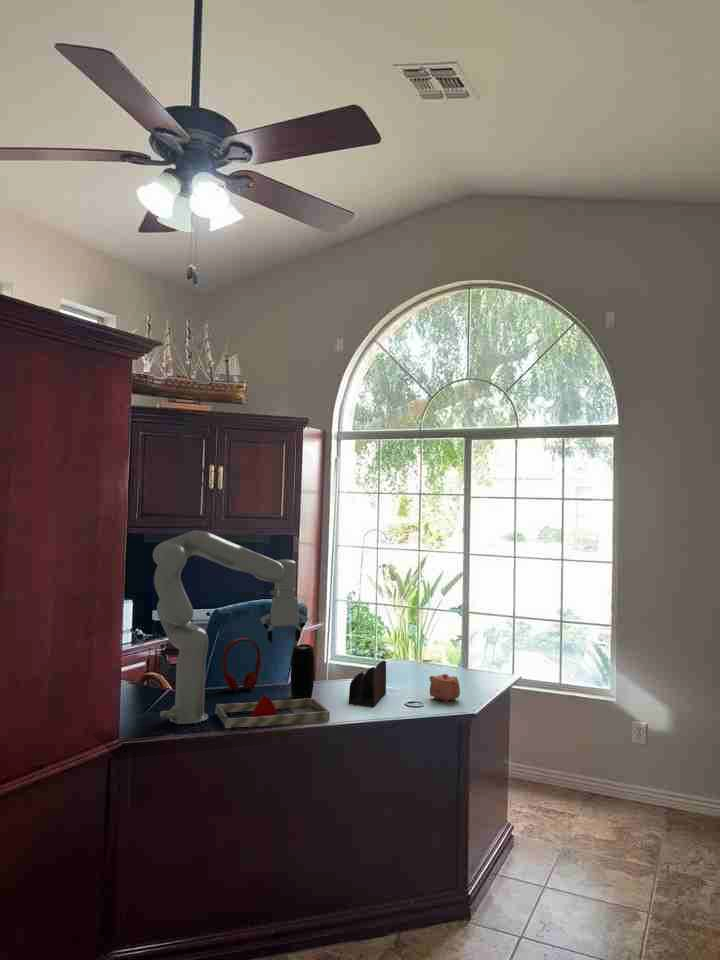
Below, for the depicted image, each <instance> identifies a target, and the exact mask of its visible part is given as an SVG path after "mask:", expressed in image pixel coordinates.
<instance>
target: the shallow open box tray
mask: <svg viewBox="0 0 720 960" xmlns="http://www.w3.org/2000/svg"><path fill="white" fill-rule="evenodd" d="M271 702H272V703H273V705H274V706H275V708H276V709H282V710H286V709H285V708H288V709H287V710H288V711H290V713H289V714H287V713H286V714H277V715H273V716H261V717H251V716H243V717H242V716H241V717H240V716H239V717H231V718H229V717H228V714H225V712H226V713H227V712H242V711H254V709H255V707H256V705H257V703H258V701H256V702H243V703H242V702H241V703H238V702H234V703H232V702H231V703H216V704H215V715H216V714H217V715H218V717H219V718H220V720H221V721H222V723H223V724H224V726H225V728H231V727H248V728H257V726H259V727H268V726H279V725H280V726H282V725H292V724H303V723H304V722H305V723H314V721H317V722H327V720H329V721H330V715H331V714H330V710H329V709H327V708H326V707H325V706H324V705H323V704H321V702H320V701H318V700H317V699H316V698H315V697H312V698H304V699H284V700H283V699H282V700H280V699H279V700H271ZM217 715H216V716H217ZM218 717H217V718H218ZM220 720H219V721H220ZM325 720H326V721H325ZM222 723H221V724H222ZM305 723H304V724H305ZM224 726H223V727H224ZM255 726H256V727H255ZM225 728H224V729H225Z"/></svg>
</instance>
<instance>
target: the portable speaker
mask: <svg viewBox="0 0 720 960" xmlns="http://www.w3.org/2000/svg"><path fill="white" fill-rule="evenodd" d="M292 647H293V648H292V654H291V659H290V660H291V661H290V681H289V682H290V695H291V697H292V700H294V699H307V698H313V691H314V683H315V680H314V679H315V650H314V646H312V645H311V644H307V643H304V644H303V643H302V644H298V645H293V646H292Z"/></svg>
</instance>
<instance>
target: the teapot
mask: <svg viewBox="0 0 720 960" xmlns="http://www.w3.org/2000/svg"><path fill="white" fill-rule="evenodd" d="M429 682H430V685H429V695H430V697H433V699H436V700H435V701H439V700H442V703H444V702H448V703H449V701H452V700H455V701H456V699H458V698H459V697H460V694H461V689H460V683H459V678H458V677H457V676H454V675H453V676H449V674H448V673H443V674H441V675H436V676H434V675H430V676H429Z"/></svg>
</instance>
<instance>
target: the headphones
mask: <svg viewBox="0 0 720 960" xmlns="http://www.w3.org/2000/svg"><path fill="white" fill-rule="evenodd" d="M242 641H244V642H250V643H251V644H252V645H253V646H254V647H255V649H256V661H255V669H254V670H250V671H249V672H247V673H246V675H245V676H244V678H243V681H242V687H243V688H244V689H245V690H250V689H251V690H253V689H254V687H256V684H257V682H258V679H259V678H258V677H259V673H260V669H259V668H260V667H261V651H260V647H259V646H258V645H257V643H256V642H254V641H253V640H251V639H249V638H246V637H245V638H244V637H239V638H236V639H234V640H232V641H230V642H229V643H228V644H227V646H226V647H225V648H224V651H223V653H222V663H221V665H222V666H221V668H222V670H223V672H222V675H223V679H224V682H225V684H226V686H227V688H228V689H229V690H230V691H231V690H232V691H231V692H233V691H234V690H235V692H236V691H237V690H238V689H239V684H238V681H237V679H236V678H235V676H234V675H233V674H232V673H231V672H228V671H227V669H228V666H227V664H226V661H227V660H226V659H227V654H228V652H229V650H230V648H231V647H232V646H234V645H236V643H238V642H242ZM227 672H228V673H227ZM233 689H234V690H233Z"/></svg>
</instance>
